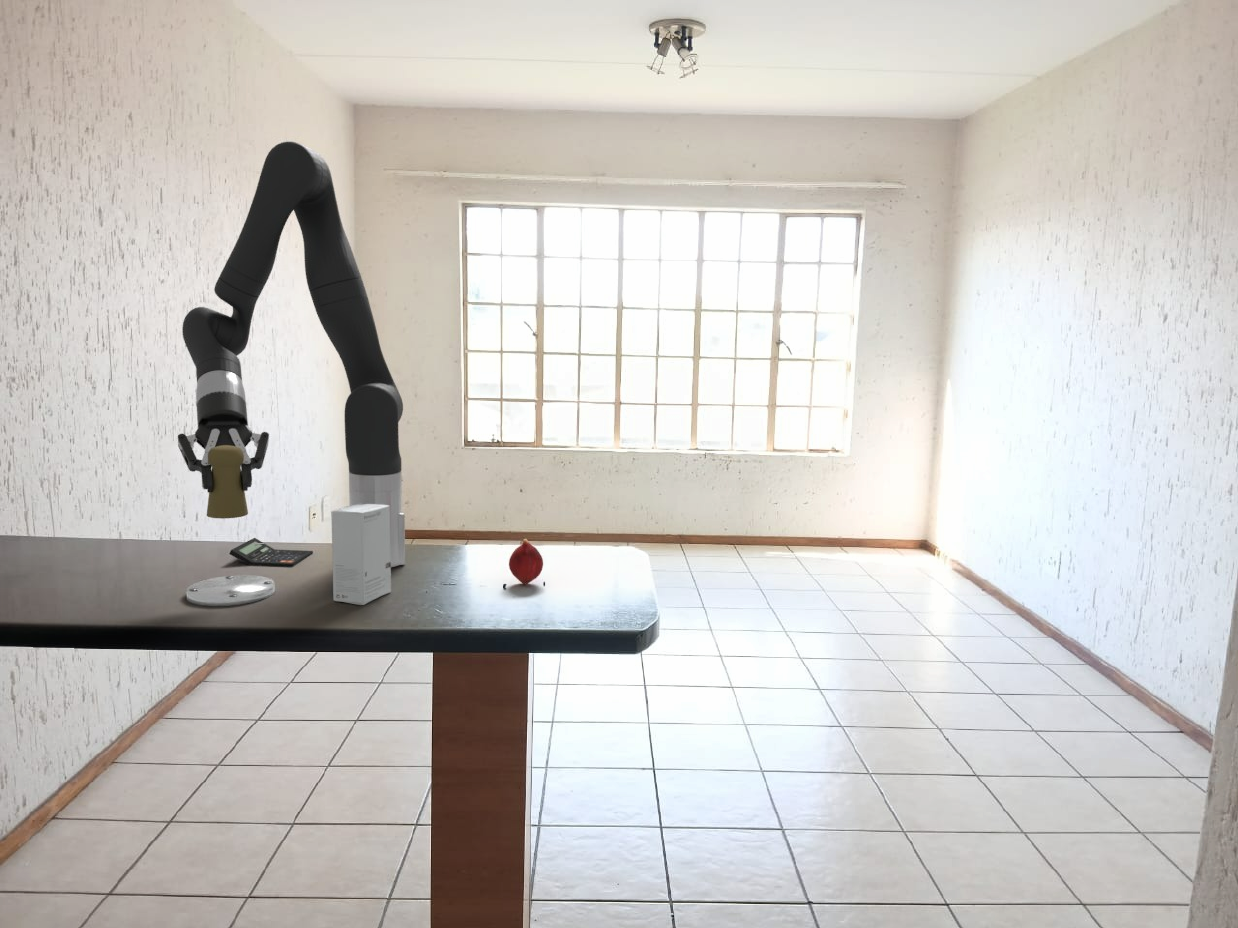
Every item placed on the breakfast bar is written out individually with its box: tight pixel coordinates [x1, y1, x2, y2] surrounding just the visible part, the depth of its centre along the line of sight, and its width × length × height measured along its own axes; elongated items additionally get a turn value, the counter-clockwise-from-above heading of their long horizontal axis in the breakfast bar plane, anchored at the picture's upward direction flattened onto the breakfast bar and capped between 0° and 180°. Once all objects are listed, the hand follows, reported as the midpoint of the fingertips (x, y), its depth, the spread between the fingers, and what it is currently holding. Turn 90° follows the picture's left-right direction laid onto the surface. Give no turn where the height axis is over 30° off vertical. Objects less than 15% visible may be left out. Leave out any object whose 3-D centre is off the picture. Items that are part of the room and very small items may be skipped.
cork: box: [206, 445, 249, 519], centre depth 138 cm, size 6×6×11 cm
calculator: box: [229, 537, 314, 568], centre depth 161 cm, size 9×12×3 cm
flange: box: [185, 574, 276, 607], centre depth 140 cm, size 13×13×1 cm
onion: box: [508, 538, 544, 586], centre depth 150 cm, size 6×6×8 cm
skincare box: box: [330, 504, 392, 606], centre depth 140 cm, size 8×6×15 cm
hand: (228, 488), depth 136 cm, fingers closed on cork, 4 cm apart
